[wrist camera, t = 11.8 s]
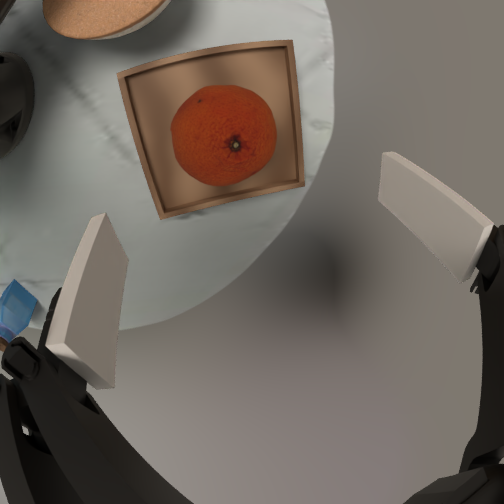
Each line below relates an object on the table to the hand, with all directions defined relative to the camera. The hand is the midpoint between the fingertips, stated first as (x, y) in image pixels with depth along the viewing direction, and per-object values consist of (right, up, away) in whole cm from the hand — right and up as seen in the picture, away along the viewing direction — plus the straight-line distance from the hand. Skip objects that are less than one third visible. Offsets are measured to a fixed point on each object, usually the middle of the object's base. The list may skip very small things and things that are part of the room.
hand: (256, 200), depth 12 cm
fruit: (-4, +10, +13) cm, 16 cm away
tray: (-5, +13, +17) cm, 22 cm away
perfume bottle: (-44, -10, +25) cm, 52 cm away
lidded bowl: (-14, +25, +5) cm, 29 cm away
